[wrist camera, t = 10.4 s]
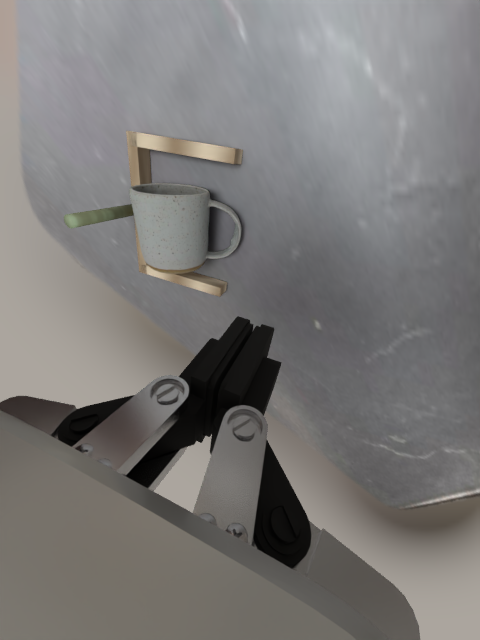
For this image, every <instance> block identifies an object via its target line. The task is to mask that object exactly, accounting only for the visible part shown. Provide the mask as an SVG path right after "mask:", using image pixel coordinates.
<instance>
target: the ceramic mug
mask: <svg viewBox="0 0 480 640" xmlns="http://www.w3.org/2000/svg"><path fill="white" fill-rule="evenodd" d="M129 194H130V199H131V203H132V208H133V213H134V218H135V223H136V228H137V232H138V237H139V242H140V247H141V252H142V255H143V257H144V260H145V262H146V264H147V265H148V266H149V267H150V268H151V269H153V270H155V271H158V272H161V273H167V274H183V273H189V272H192V271H195V270H197V269H199V268H200V267H201V266H202V265H203V264H204V263H205V260H206V259H207V258H209V259H219V258H223V257H226V256H228V255H230V254H231V253H232V252H233V251H234V250H235V249H236V248H237V246H238V244H239V241H240V238H241V224H240V220H239V218H238V216H237V214H236V213H235V212H234V211H233V210H232V209H231V208H230V207H228V206H227V205H225V204H223V203H220V202H217V201H214V200H211V199H210V192H209V191H208V190H207V189H204V188H202V187H196V186H192V185H183V184H170V183H150V184H141V185H135V186H132V187H131V188H130V189H129ZM210 207H217V208H218V209H221V210H223V211H225V212H226V213H228V214H229V215H230V216H231V218H232V219H233V221H235V231H234V235H233V239H232V240H231V245H230V247H229V248H227V249H226V250H223V251H219V252H209V251H208V227H209V212H210V210H209V209H210Z"/></svg>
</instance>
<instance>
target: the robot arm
mask: <svg viewBox="0 0 480 640" xmlns="http://www.w3.org/2000/svg"><path fill="white" fill-rule="evenodd" d="M252 330H253V324H250V320H248V319H245V318H242V317H237V318H236V319H235V320H234V321H233V323H232V324H231V325H230V327H229V328H228V329H227V330H226V332H225V333H224V334H223V336H222V337H221V338H220V339H219V340H216V339H213V338H212V339H210V340H209V341H208V342H207V343H206V345H205V346H204V347H203V348H202V349H201V351H200V352H199V353H198V354H197V355H196V357H195V358H194V359H193V360H192V361H191V363H190V364H189V365H188V366H187V367H186V369H185V370H184V371H183V372H182V373H181V375H180V376H179V377H177V376H172V375H168V376H162V377H159V378H157V379H155V380H153V381H152V382H151V383H150V384H148V385H147V386H146V387H145V388H143V389H142V390H141V391H140V392H138V393H137V394H136V395H133V396H129V397H124V398H120V399H115V400H111V401H107V402H102V403H99V404H94V405H90V406H86V407H83V408H80V409H76V407H75V406H74V405H69V404H65V403H60V402H54V401H49V400H44V399H39V398H34V397H28V396H16V397H12V398H9V399H7V400H4V401H2V402H0V640H420V633H419V626H418V623H417V620H416V617H415V614H414V612H413V609H412V608H411V606H410V604H409V603H408V601H407V599H406V598H405V596H404V595H403V594H402V593H401V592H400V591H399V590H398V589H397V588H396V587H395V586H394V585H393V584H392V583H391V582H390V581H389V580H387V579H386V578H385V577H384V576H382V575H381V574H380V573H378V572H377V571H376V570H375V569H374V568H372V567H371V566H370V565H368V564H367V563H366V562H365V561H363V560H362V559H361V558H360V557H358V556H357V555H356V554H355V553H353V552H352V551H351V550H350V549H348V548H347V547H346V546H344V545H343V544H342V543H341V542H340V541H338V540H337V539H336V538H335V537H333V536H332V535H331V534H330V533H328V532H327V531H326V530H325V529H322V530H320V529H319V528H317V527H316V526H315V525H314V524H312V523H311V522H310V521H309V520H308V518H307V515H306V513H305V511H304V509H303V507H302V505H301V503H300V501H299V500H298V498H297V496H296V494H295V492H294V490H293V489H292V486H291V485H290V483H289V481H288V479H287V477H286V475H285V473H284V471H283V469H282V468H281V466H280V464H279V462H278V460H277V458H276V456H275V454H274V452H273V450H272V449H271V447H270V445H269V443H268V441H267V432H268V425H267V422H266V419H265V417H264V413H265V411H266V408H267V405H268V402H269V399H270V397H271V394H272V391H273V388H274V385H275V382H276V379H277V376H278V373H279V369H280V366H281V362H278V361H275V360H272V359H270V358H267V356H268V352H269V348H270V344H271V340H272V336H273V332H274V328H272V327H269V326H266V325H263V324H262V325H261V327H259V326H256V327H255V329H254V330H253V332H252ZM211 434H212V439H211V448H210V453H211V458H210V461H209V464H208V467H207V470H206V473H205V476H204V480H203V483H202V486H201V489H200V492H199V495H198V498H197V501H196V504H195V507H194V511H193V513H191V512H190V511H188V510H186V509H184V508H182V507H180V506H179V505H177V504H175V503H173V502H171V501H170V500H168V499H166V498H164V497H162V496H160V495H159V494H157V493H155V492H153V491H154V490H155V489H156V487H157V486H158V485H159V484H160V482H161V481H162V480H163V479H164V477H165V476H166V475H167V474H168V472H169V471H170V470H171V468H172V467H173V466H174V465H175V463H176V462H177V461H178V460H179V458H180V457H181V456H182V455H183V453H184V452H185V450H186V448H187V447H188V446H191V445H194V444H195V442H196V441H198V442H200V443H201V442H202V441H203V439H204V437H205V436H208V437H210V436H211Z"/></svg>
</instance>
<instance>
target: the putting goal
mask: <svg viewBox="0 0 480 640" xmlns="http://www.w3.org/2000/svg"><path fill="white" fill-rule="evenodd" d="M126 134H127V145H128V155H129V166H130V177H131V187H132V186H135V185H141V184H150V183H151V165H150V149H153V150H158V151H164V152H170V153H175V154H181V155H186V156H192V157H198V158H203V159H209V160H214V161H220V162H226V163H231V164H241V162H242V154H243V150H241V149H235V148H229V147H223V146H217V145H211V144H205V143H199V142H192V141H186V140H180V139H174V138H168V137H162V136H156V135H149V134H143V133H137V132H131V131H126ZM132 215H134V213H133V208H132V204H130V205H124V206H118V207H111V208H105V209H99V210H92V211H86V212H80V213H73V214H67V215H65V216H64V221H65V223H66V225H67V226H68V227H69V228H76V227H80V226H85V225H90V224H95V223H99V222H104V221H109V220H114V219H118V218H123V217H128V216H132ZM134 219H135V218H134ZM135 230H136V241H137V251H138V262H139V272H142V273H145V274H148V275H151V276H155V277H158V278H161V279H164V280H168V281H171V282H174V283H177V284H181V285H184V286H187V287H190V288H193V289H197V290H200V291H203V292H206V293H210V294H213V295H216V296H219V297H220V296H221V295H222V294H223V293H224V292H225V291H226V288H227V282H225V281H221V280H218V279H215V278H211V277H208V276H204V275H201V274H197V273H194V272H189V273H183V274H167V273H161V272H158V271H155V270H153V269H151V268H150V267H149V266H148V265H147V264H146V262H145V260H144V257H143V255H142V252H141V247H140V242H139V237H138V232H137V228H136V223H135Z"/></svg>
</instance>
